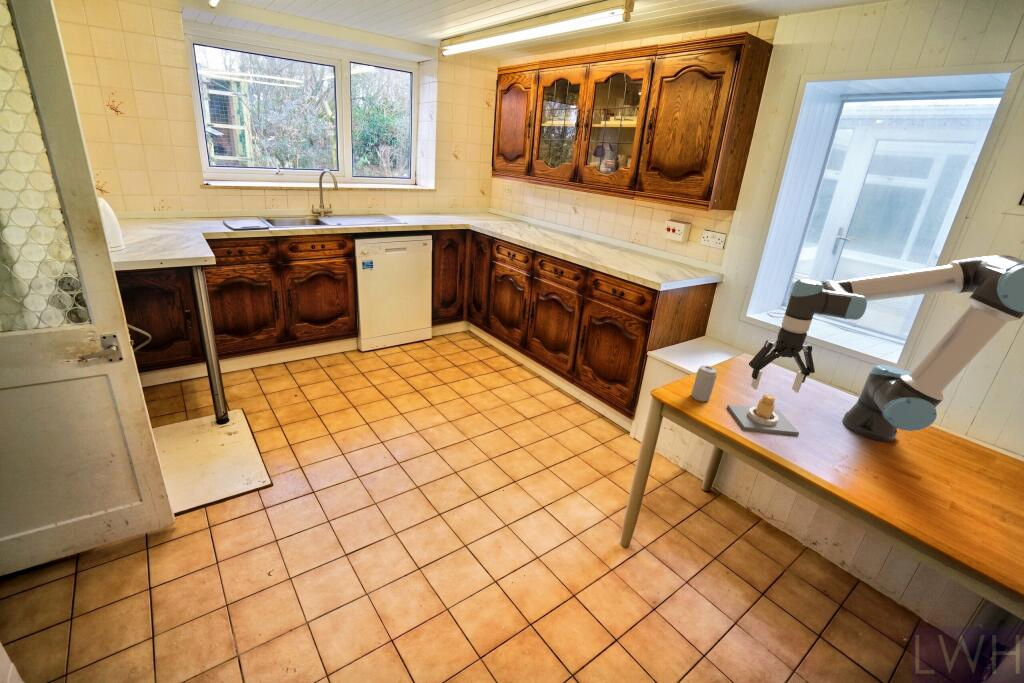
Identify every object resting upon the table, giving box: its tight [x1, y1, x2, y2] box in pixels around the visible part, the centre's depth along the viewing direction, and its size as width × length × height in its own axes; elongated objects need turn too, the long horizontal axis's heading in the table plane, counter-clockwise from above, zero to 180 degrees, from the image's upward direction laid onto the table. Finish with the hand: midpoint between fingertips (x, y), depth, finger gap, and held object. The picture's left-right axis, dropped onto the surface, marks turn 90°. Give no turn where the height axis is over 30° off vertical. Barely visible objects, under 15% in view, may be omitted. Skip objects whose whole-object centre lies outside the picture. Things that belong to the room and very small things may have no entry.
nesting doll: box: [755, 394, 776, 419], centre depth 159 cm, size 5×5×8 cm
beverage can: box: [691, 365, 718, 403], centre depth 170 cm, size 6×6×12 cm
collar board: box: [726, 404, 800, 436], centre depth 161 cm, size 18×14×3 cm
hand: (774, 389), depth 156 cm, fingers open, 13 cm apart
